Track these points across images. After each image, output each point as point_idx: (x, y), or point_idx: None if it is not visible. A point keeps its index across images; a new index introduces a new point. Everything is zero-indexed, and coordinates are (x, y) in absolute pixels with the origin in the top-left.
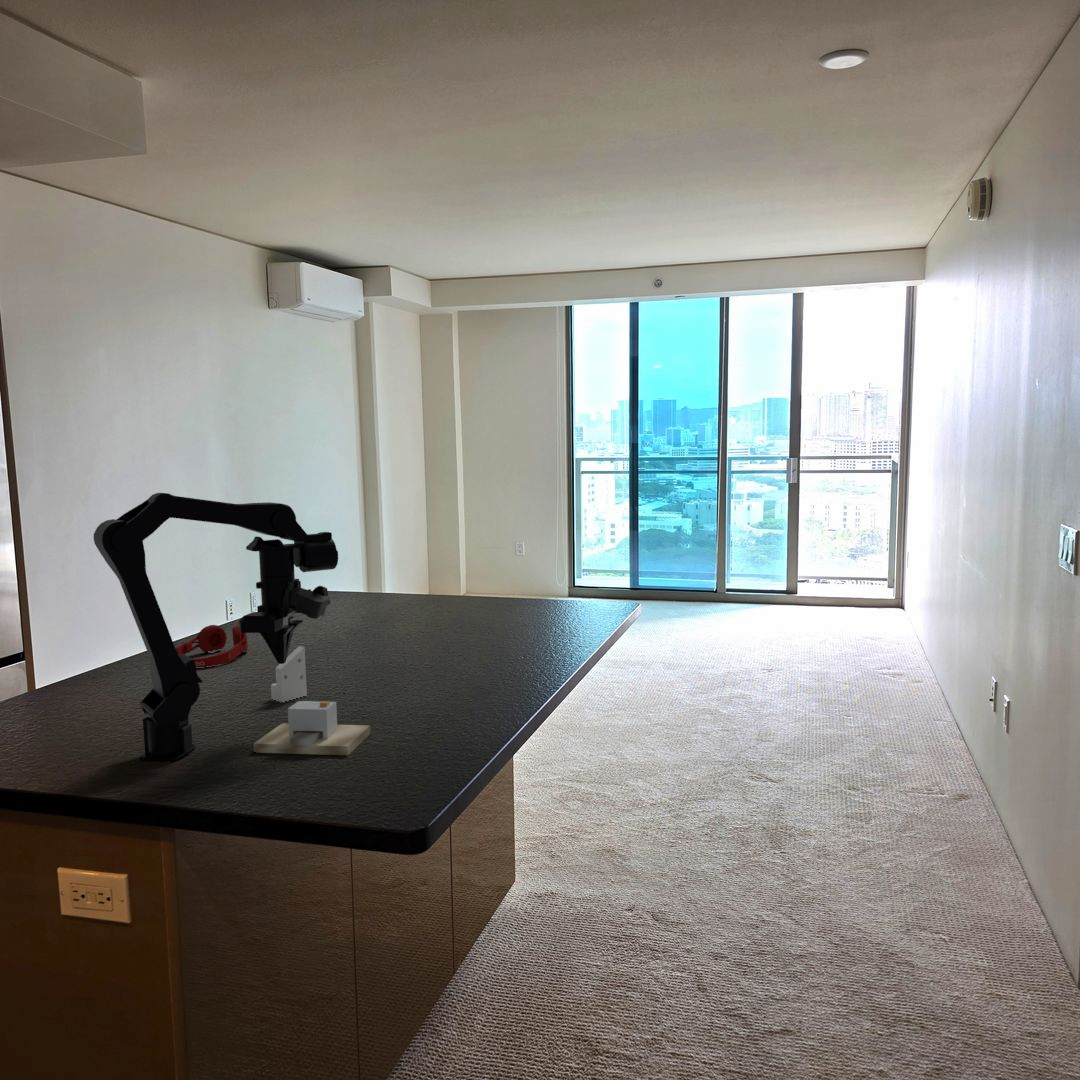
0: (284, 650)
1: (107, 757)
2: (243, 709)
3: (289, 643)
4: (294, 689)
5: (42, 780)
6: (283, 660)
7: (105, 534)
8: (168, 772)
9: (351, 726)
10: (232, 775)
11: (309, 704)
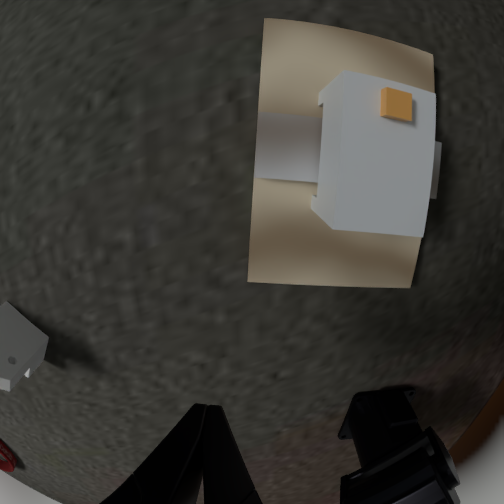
0: (234, 463)
1: None
2: (106, 394)
3: (147, 478)
4: (15, 329)
5: None
6: (224, 417)
7: None
8: (455, 367)
9: (275, 62)
10: (494, 266)
11: (379, 169)
